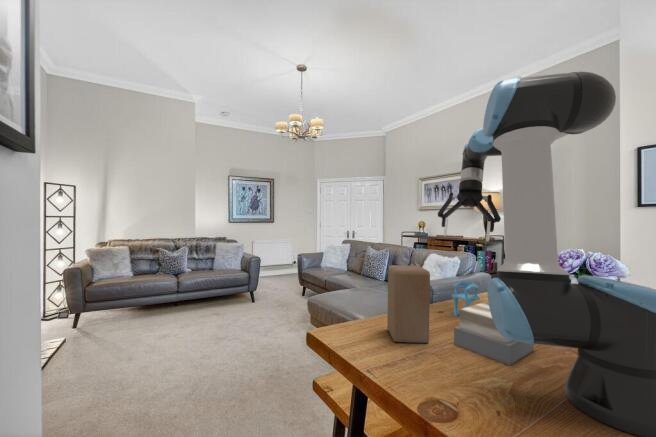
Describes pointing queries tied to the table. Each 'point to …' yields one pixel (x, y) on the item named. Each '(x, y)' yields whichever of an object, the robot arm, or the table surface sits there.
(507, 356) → the tower base
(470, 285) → the chair
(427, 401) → the table surface
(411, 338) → the block
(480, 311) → the tower top
